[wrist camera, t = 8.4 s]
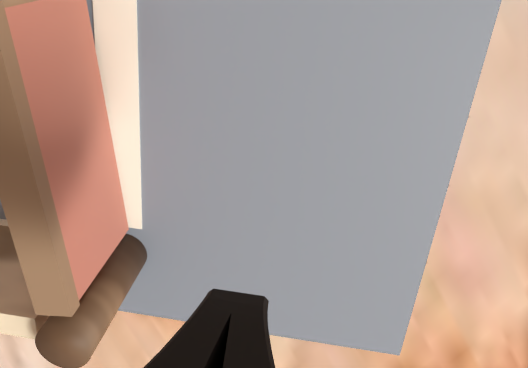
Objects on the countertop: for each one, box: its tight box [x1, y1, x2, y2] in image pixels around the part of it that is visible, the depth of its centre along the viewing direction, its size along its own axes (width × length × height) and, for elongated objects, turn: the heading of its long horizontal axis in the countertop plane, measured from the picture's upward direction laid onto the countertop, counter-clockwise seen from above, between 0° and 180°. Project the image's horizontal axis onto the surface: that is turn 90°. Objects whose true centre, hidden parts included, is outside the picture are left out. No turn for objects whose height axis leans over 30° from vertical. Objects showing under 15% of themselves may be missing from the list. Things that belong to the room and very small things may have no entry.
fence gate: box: [0, 0, 129, 317], centre depth 17 cm, size 11×1×6 cm, turn 2°
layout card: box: [0, 0, 501, 355], centre depth 21 cm, size 17×24×1 cm
